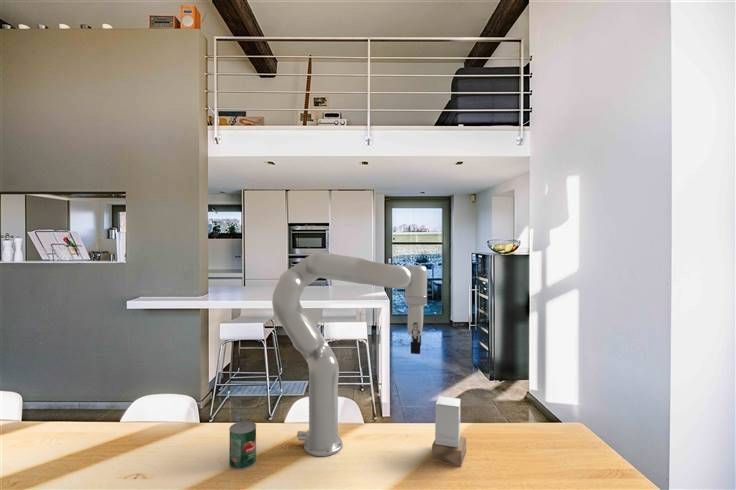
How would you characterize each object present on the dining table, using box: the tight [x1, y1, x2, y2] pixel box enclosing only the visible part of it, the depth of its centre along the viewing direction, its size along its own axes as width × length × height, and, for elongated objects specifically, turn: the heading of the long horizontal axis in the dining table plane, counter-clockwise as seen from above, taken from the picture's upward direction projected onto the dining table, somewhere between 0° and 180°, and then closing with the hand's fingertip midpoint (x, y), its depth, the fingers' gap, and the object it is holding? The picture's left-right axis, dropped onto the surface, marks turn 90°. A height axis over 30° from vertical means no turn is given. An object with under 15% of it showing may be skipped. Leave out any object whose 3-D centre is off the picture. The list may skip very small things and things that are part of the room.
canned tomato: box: [228, 420, 257, 471], centre depth 121 cm, size 8×8×11 cm
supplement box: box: [434, 396, 462, 448], centre depth 125 cm, size 7×7×13 cm
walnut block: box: [431, 436, 467, 467], centre depth 125 cm, size 9×9×5 cm
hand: (416, 349), depth 138 cm, fingers open, 9 cm apart
